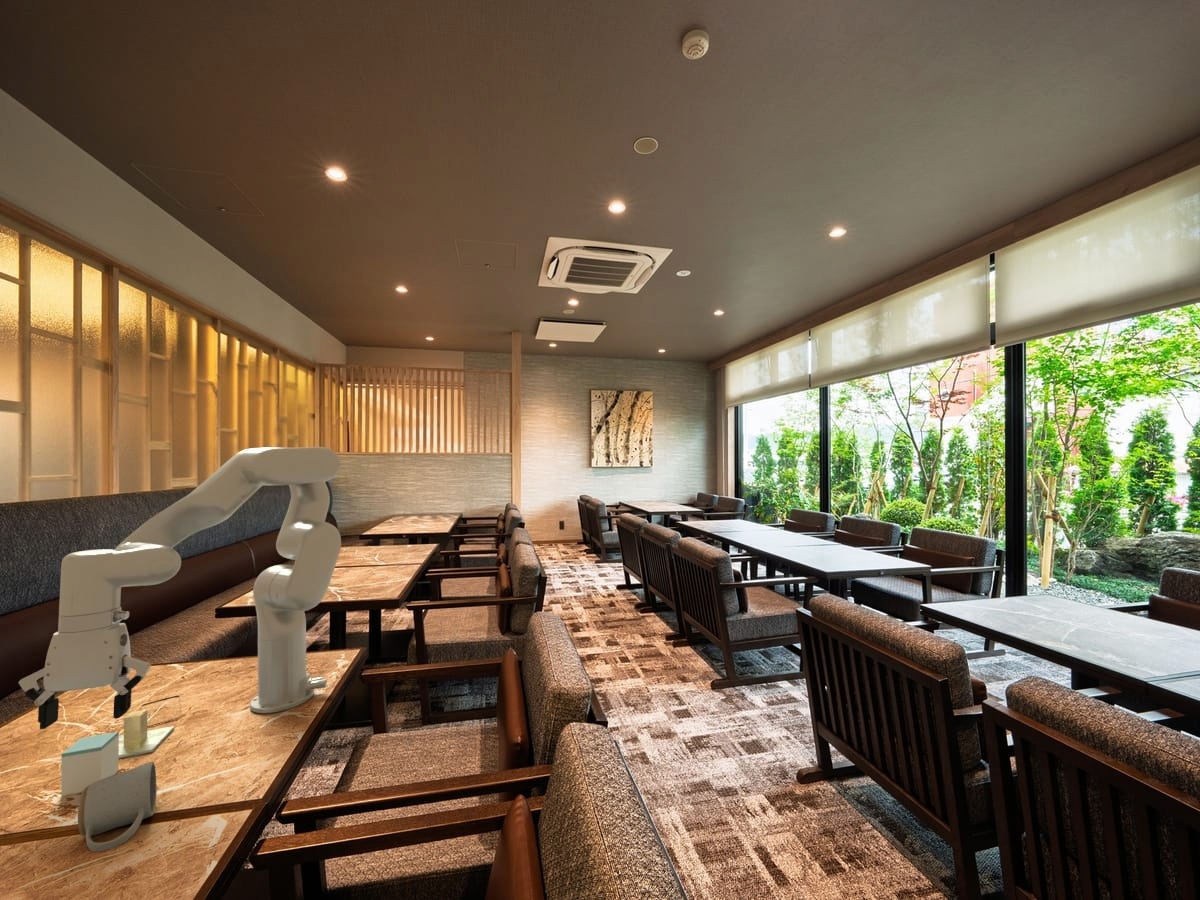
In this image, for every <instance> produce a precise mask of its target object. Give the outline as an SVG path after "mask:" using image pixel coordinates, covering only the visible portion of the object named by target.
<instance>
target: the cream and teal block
mask: <svg viewBox="0 0 1200 900" xmlns="http://www.w3.org/2000/svg"><path fill="white" fill-rule="evenodd" d="M119 732H120V731H114V732H108V733H104V734H103V733H102V734H101V733H100V734H96V735H90V736H86V737H85V736H84V737H81V738H79V739H78V740H77V741H76V742H75V743H73V744H72V745H71V746H69V747H68V748H67V749H66V750H64V751H63V752H62V753H61V759H60V760H61V770H60V771H61V773H60V775H61V776H60V777H61V783H60V784H61V785H60V786H61V790H60V791H61V794H60V795H61V796H60V797H64V796H71V795H76V794H80V793H81V794H82V792H83V790H84V789H85V788H86V787H87V786H89V785H91V784H93V783H95V782H97V781H99V780H102V779H104V778H107V777H110V776H113V775H116V774H118V773H119V769H120V768H119V767H120V766H119V763H120V762H119V759H120V758H119V736H120V733H119Z"/></svg>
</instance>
